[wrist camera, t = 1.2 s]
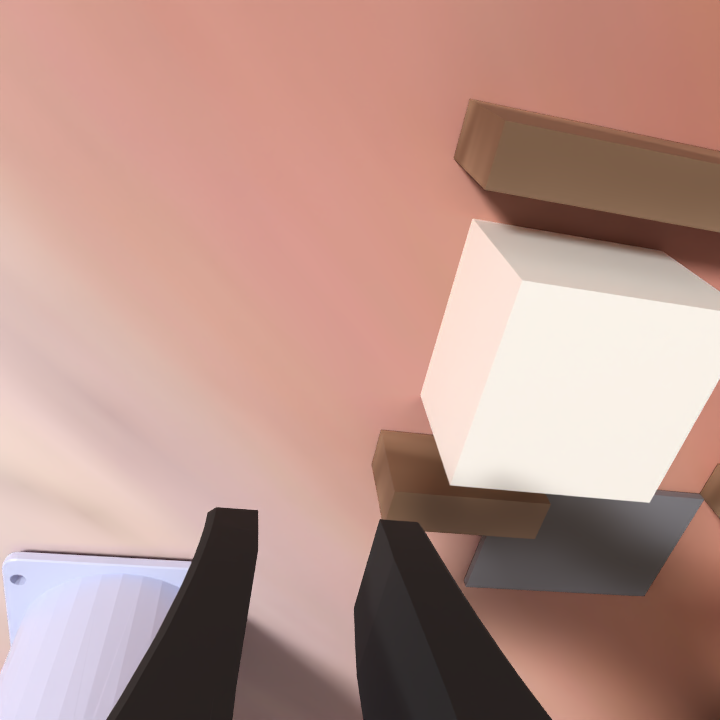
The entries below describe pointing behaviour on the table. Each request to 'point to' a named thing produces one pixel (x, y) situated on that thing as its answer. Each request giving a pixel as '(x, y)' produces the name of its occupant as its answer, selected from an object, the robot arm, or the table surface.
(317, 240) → the table surface
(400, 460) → the trap lane
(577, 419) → the block
